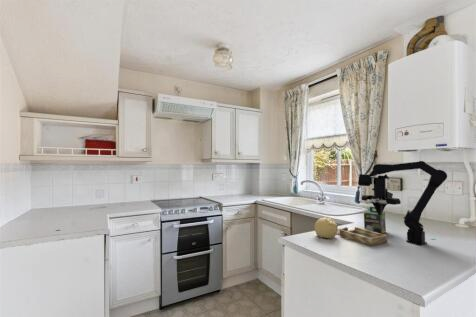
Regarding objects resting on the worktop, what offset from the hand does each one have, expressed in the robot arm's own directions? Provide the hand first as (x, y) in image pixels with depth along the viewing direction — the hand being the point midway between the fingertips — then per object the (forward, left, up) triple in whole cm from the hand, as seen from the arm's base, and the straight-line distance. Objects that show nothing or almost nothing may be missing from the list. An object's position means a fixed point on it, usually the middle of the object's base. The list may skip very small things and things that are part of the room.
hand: (380, 215), depth 130 cm
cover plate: (+20, +13, -13) cm, 27 cm away
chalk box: (+8, -7, -12) cm, 16 cm away
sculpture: (+14, +26, -12) cm, 32 cm away
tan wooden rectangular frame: (+2, +12, -12) cm, 17 cm away
